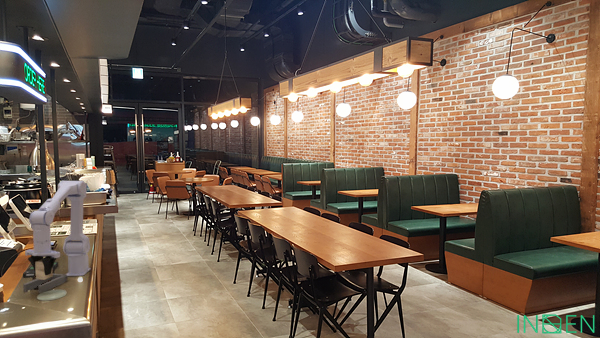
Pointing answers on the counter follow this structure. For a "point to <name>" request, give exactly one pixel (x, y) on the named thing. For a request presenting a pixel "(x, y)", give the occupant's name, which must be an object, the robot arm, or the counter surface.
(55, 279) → the slot rack
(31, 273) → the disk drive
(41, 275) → the maple block
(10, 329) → the counter surface
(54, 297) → the saucer
